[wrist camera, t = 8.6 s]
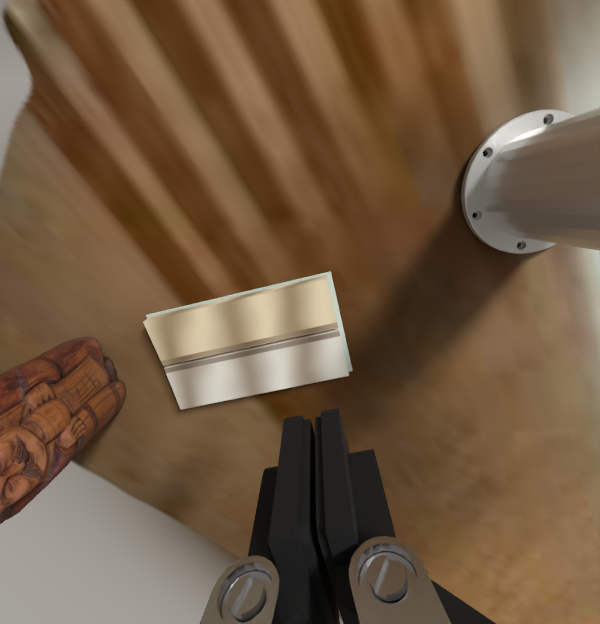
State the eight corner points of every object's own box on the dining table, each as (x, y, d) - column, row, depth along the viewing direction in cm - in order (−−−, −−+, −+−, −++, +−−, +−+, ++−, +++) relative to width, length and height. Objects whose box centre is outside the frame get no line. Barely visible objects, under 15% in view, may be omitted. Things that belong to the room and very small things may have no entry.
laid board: (338, 325, 37) (339, 330, 36) (347, 369, 39) (349, 375, 38) (169, 362, 39) (163, 368, 38) (184, 403, 41) (180, 409, 40)
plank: (326, 275, 35) (327, 279, 34) (337, 322, 37) (338, 327, 36) (148, 317, 37) (143, 322, 36) (167, 359, 39) (162, 365, 38)
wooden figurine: (140, 413, 42) (21, 557, 25) (94, 424, 43) (-52, 571, 26) (98, 327, 39) (-71, 424, 22) (49, 340, 40) (-153, 444, 22)
